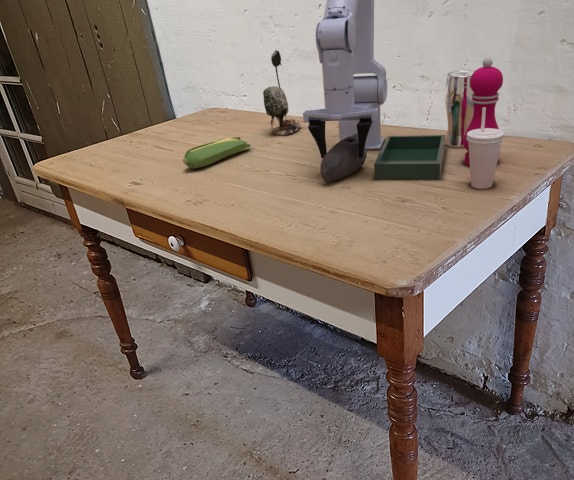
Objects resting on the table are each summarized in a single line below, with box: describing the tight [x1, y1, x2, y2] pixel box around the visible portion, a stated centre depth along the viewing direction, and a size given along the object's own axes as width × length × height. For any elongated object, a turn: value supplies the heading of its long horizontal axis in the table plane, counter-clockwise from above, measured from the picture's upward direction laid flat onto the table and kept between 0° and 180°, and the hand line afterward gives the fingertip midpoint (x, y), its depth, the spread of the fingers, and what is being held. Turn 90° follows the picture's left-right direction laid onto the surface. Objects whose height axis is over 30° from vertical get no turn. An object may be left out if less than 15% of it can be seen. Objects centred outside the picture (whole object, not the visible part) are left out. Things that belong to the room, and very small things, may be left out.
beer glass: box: [444, 69, 475, 148], centre depth 124 cm, size 7×7×15 cm
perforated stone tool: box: [319, 133, 368, 183], centre depth 116 cm, size 15×5×7 cm, turn 141°
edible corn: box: [182, 136, 252, 169], centre depth 134 cm, size 5×20×5 cm, turn 135°
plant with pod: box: [262, 49, 303, 136], centre depth 147 cm, size 8×11×20 cm
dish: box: [373, 134, 447, 180], centre depth 119 cm, size 13×19×3 cm, turn 164°
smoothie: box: [466, 107, 505, 190], centre depth 102 cm, size 6×6×14 cm
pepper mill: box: [463, 57, 504, 167], centre depth 111 cm, size 7×7×20 cm
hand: (342, 156), depth 115 cm, fingers open, 7 cm apart
